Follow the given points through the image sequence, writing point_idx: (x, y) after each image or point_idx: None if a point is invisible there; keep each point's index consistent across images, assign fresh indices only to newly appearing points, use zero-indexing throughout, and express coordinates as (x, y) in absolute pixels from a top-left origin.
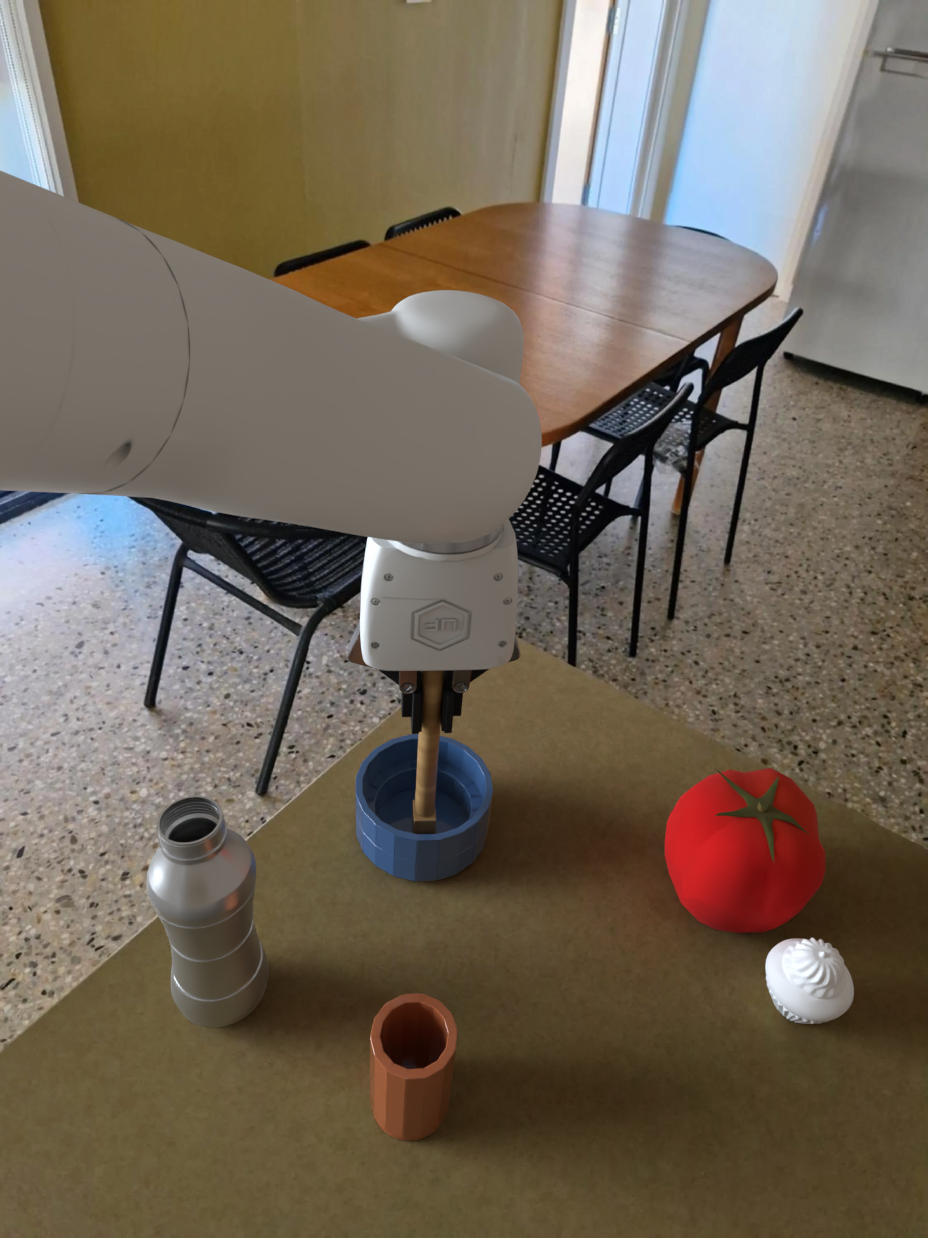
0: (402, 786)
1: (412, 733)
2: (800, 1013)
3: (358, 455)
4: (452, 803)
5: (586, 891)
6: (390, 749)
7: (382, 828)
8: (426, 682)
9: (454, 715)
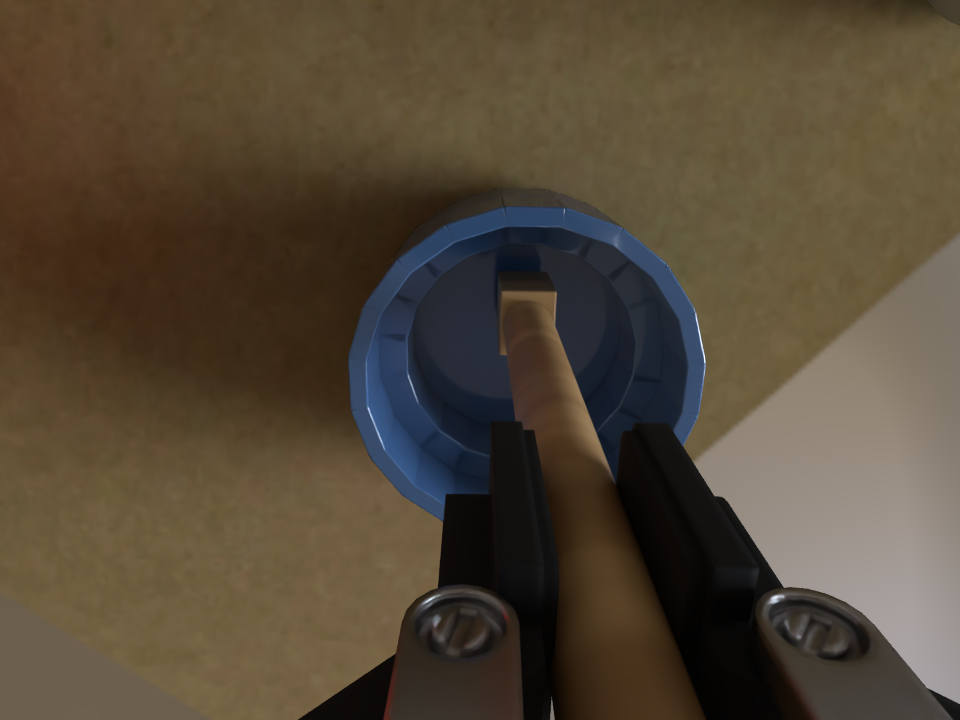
0: None
1: (664, 424)
2: None
3: None
4: (444, 386)
5: (161, 147)
6: None
7: (652, 252)
8: (674, 665)
9: (476, 495)
